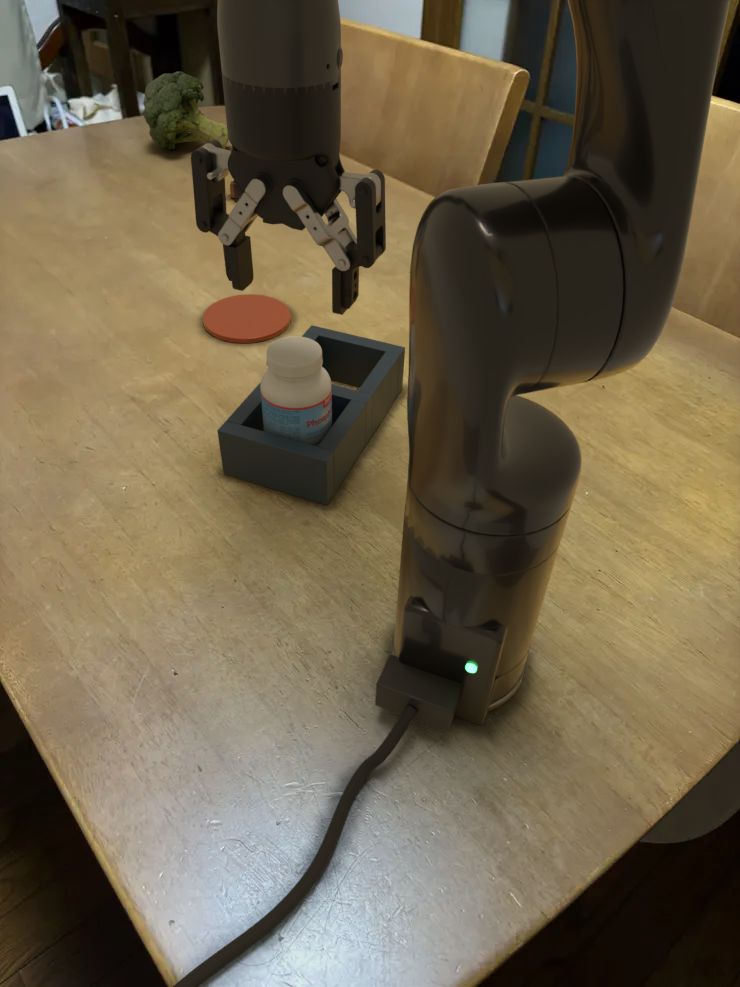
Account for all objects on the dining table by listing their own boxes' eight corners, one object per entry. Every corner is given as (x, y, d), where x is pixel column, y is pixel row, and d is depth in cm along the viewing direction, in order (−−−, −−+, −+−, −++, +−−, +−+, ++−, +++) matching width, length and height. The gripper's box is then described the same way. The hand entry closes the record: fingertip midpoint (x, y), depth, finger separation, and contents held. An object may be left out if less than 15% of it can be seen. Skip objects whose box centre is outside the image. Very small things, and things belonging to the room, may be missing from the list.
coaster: (265, 351, 82) (265, 346, 82) (186, 331, 84) (185, 326, 84) (305, 309, 89) (305, 304, 88) (230, 292, 91) (230, 287, 91)
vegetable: (214, 155, 119) (124, 104, 115) (210, 189, 131) (129, 143, 128) (247, 92, 120) (160, 39, 117) (240, 131, 133) (161, 84, 129)
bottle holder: (327, 505, 65) (326, 461, 61) (223, 474, 67) (216, 430, 64) (402, 388, 77) (405, 347, 74) (312, 366, 80) (311, 324, 77)
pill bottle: (323, 481, 67) (321, 375, 59) (257, 471, 68) (247, 365, 60) (339, 439, 71) (339, 336, 63) (277, 430, 72) (269, 327, 64)
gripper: (150, 64, 47) (187, 300, 58) (363, 97, 43) (358, 342, 54) (213, 38, 52) (235, 259, 63) (407, 65, 48) (394, 295, 59)
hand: (292, 297), depth 58 cm, fingers open, 8 cm apart
